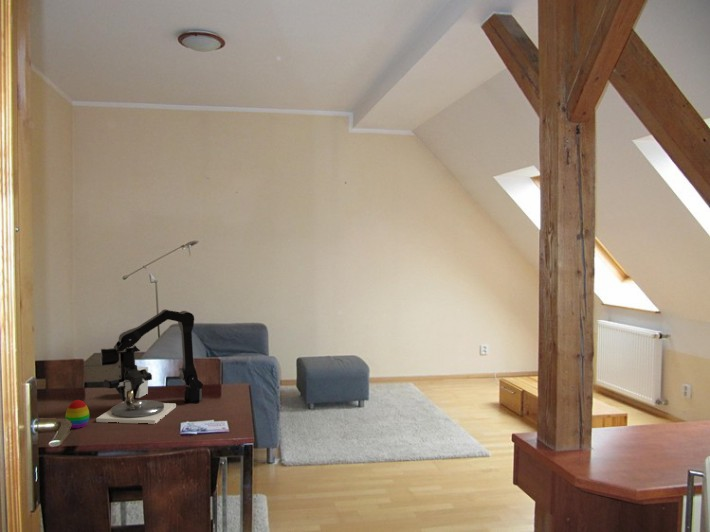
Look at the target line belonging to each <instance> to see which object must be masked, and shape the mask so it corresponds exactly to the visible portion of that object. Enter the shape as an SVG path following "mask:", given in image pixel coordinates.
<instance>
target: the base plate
mask: <svg viewBox="0 0 710 532" xmlns="http://www.w3.org/2000/svg"><path fill="white" fill-rule="evenodd" d="M124 402H125V401H122V402H120V403H124ZM162 403H163V404H164V409H163V410H162V411H161V412H159V413H156V414H153V415H149V416H143V417H119V416H115V415H113V414H112V413H111V408H110V409H109V410H107V411H106V412H104V413H102V414H101V415H99V416H98V417H96V418H95V419H96V423H108V422H117V423H116V424H138V423H148V424H147V425H156V424H157V423H159V422H160V421H161V420H162V419H164V417H165V415H166V416H167V415H168V414H170V413H171V412H172V411H173V410H174V409H175V408H176V407H177V404H176V403H171V402H170V403H169V402H167V403H166V402H162ZM160 419H161V420H160ZM118 422H119V423H118ZM155 423H156V424H155Z"/></svg>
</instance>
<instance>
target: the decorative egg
mask: <svg viewBox="0 0 710 532" xmlns="http://www.w3.org/2000/svg"><path fill="white" fill-rule="evenodd" d="M64 417H65V419H68V420H70V421H71V423H72V427H71V428H70V429H73V428H76V429H81V428H80V427H82V428H84V427H86V426H87V424H88V423H89V420H90V410H89V407H88V406H87V404H86V403H85V402H84V401H83V400H82V399H81V400H80V399H75V400H73V401H72V402H71V403H70V404H69V405H68V406H67V408H66V412H65V416H64Z"/></svg>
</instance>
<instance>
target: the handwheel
mask: <svg viewBox="0 0 710 532" xmlns="http://www.w3.org/2000/svg"><path fill="white" fill-rule="evenodd" d="M123 402H124V403H121V402H120V403H117V404H115V405H113V406H112V407H111V408H110V409H111V413H112V414H113V415H115V416H119V417H143V416H149V415H153V414H156V413H159V412H161V411H162V410H163V409H164V404H163V403H164V402H161V401H159V400H152V399H138V400H137V399H136V400H135V399H134V390H133V389H128V390H126V397H125V401H123Z"/></svg>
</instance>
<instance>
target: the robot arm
mask: <svg viewBox="0 0 710 532" xmlns="http://www.w3.org/2000/svg"><path fill="white" fill-rule="evenodd" d="M168 320H169V321H174V322H177V324H178V327H179V329H180V332H181V347H182V361H183V362H182V367H181V368H180V367H179V368H178V372H179V375H178V378H180V381H182V383H184V385H185V389H184V391H183V393H184V394H183V395H184V397H183V398H184V399H183V400H184V401H183V402H184V403H187V404H188V403H189V404H199V403H200V402H201V401H203V399H204V398H203V397H202V395H203V394H202V391H203V386H204V384H203V382H202V381H200V380H199V378H198V372H197V370H196V367H195V364H194V352H193V350H194V349H193V348H194V347H193V330H194V327H195V326H194V325H195V316H194V314H193V313H191V312H189V311H187V310H181V311H176V310H169V309H162V310H161V311H160V312H159V313H157V314H155V315H154V316H153V317H150V319H148V320H146V321H145V322H143V323H141V324H140V325H138V326H136V327H134V328H131V329H128V330H125V331H123V332H121V333H120V334H119V336H118V340H117V342H116V343H115V344H114V346H113V347H112V348H101V349H100V354H99V362H100V364H99V365H100V367H106V366H111V365H117V364H118V363H119V365H118V369H120V370H119V371H120V374H119V375H118V379H117V378H115V377H112V378H111V377H110V378H106V379H104V380H103V382H102V384H103V387H105V388H107V389H115V390H116V391H117V392H118V394H119V397H120V398H121V400H122V402H126V397H125V387H126V386H125V382H130V383H131V389H133V390H134V400H135V399H136V398H135V397H136V394H137V391H138V388H139V386H140V385H141V384H142V383H144V382H143V381H142V380H143V379H144V380H145V381H147V380H148V381H151V380H152V379H153V375H152V373H151V372H149V371H148V372H147V370H145V369H143V370H139V371H138V369H137V366H138V365H137V364H136V353H138V352H141V349H139V348H138V347H137V346H136V344H137V343H138V342H139V341H140V340H141V338H143V337H144V336H145V335H146V334H147V333H149V332H151V331H152V330H154V329H155V328H157V327H159V326H160V325H161V324H163V323H164V322H167V321H168Z"/></svg>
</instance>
